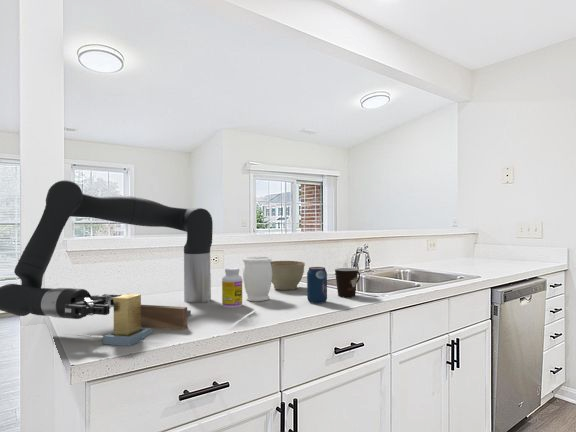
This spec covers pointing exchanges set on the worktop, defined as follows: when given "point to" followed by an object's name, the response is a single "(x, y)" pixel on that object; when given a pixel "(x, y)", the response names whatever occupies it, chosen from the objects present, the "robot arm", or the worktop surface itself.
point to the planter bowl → (286, 274)
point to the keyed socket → (126, 338)
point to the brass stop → (127, 315)
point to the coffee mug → (346, 281)
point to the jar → (257, 278)
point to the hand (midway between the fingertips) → (120, 306)
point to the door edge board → (164, 317)
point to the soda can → (317, 285)
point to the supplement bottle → (232, 288)
